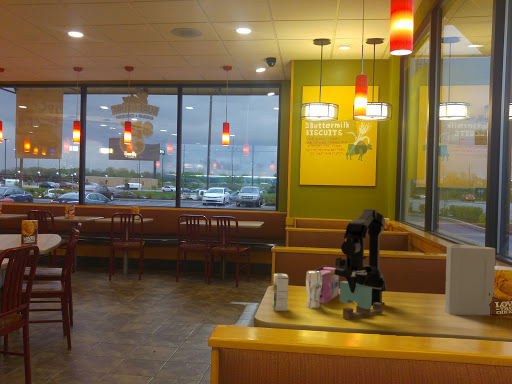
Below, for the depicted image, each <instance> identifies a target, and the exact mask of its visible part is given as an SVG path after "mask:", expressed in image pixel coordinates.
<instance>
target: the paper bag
mask: <svg viewBox="0 0 512 384" xmlns="http://www.w3.org/2000/svg"><path fill="white" fill-rule="evenodd" d="M445 263H446V266H445V296H444V297H445V299H444V300H445V303H444V304H445V305H444V312H445V313H446V314H448V315H456V316H457V315H458V316H459V315H460V316H463V315H464V316H491V315H490V306H489V304H490V303H491V301H492V297H493V293H494V294H495V273H496V271H495V269H496V248H494V247H489V246H488V247H487V246H480V245H479V246H478V245H471V244H470V245H469V244H459V243H452V244H450V245H447V246H446V262H445ZM489 293H490V296H489Z"/></svg>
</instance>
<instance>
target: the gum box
mask: <svg viewBox="0 0 512 384" xmlns="http://www.w3.org/2000/svg"><path fill="white" fill-rule="evenodd" d="M336 268H339V266H336V265H334V266H333V265H322V266H320V267H318V268H316V269H314V270H313V271H321V272H322V288H321V293H320V304H327V303H329V302H330V301H331V300H333V299H334V298H335V297H337V296H338V295H340V280H339V279H340V276H338V275H334V273H335V269H336Z"/></svg>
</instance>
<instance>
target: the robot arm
mask: <svg viewBox="0 0 512 384" xmlns="http://www.w3.org/2000/svg"><path fill="white" fill-rule="evenodd" d="M385 226H386V220H385V217H384V215H383V214H381V213H380V212H378V210H376V209H372V208H370V209H368V208H367V209H363V213H362V214H361V215H360V216H358V218H357V219H352V220H350V221H349V222H348V223H347V224H346V227H345V232H344V236H343V238H344V239H345V240H344V242H342V244H341V246H340V249H341V253H342V254H343V255H344V256H346V257H345V258H344V259H343V258H342V257H336V258H335V261H334V263H335V267H339V268H336V269H335V273H334V275H338V276H339V277H344V278H345V279H346V280H347V281H348V284H349V287H350V291H351V293H354V290H355V286H356V284H360V285H364V286H368V287H372V303H371V306H373V303H376V302H378V303H381V304H383V305H385V302H383V292H386V291H387V284H386V280H385V278H384V272H383V271H382V269H381V268H380V262H381V261H380V257H381V256H380V255H381V254H380V251H381V249H380V248H381V243H380V242H381V235H382V233H383V231H384V230H385ZM367 236H369V238H368V240H369V242H368V244H369V245H368V246H369V247H368V264H364V261H365V260H366V259H367V256H366V255H365V240H366V238H367Z"/></svg>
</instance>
